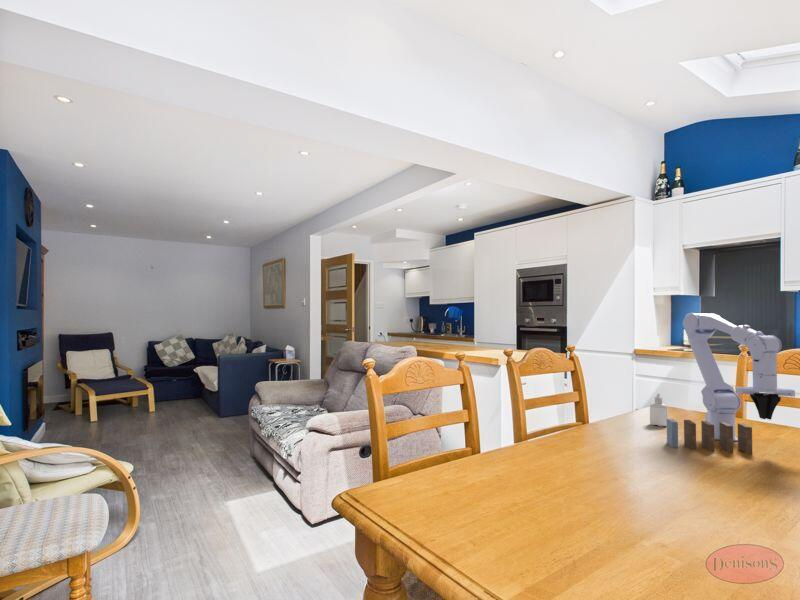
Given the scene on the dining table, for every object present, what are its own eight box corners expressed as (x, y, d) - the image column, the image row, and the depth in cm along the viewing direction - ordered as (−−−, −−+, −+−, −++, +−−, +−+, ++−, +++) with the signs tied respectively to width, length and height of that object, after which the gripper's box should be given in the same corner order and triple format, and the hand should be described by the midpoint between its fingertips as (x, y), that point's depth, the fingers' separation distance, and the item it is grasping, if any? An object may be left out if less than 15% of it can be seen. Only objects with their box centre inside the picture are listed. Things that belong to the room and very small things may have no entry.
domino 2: (690, 449, 135) (690, 423, 135) (684, 444, 140) (683, 419, 140) (696, 449, 134) (695, 423, 135) (689, 444, 139) (689, 419, 139)
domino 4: (727, 451, 132) (726, 425, 132) (719, 447, 137) (719, 421, 137) (733, 452, 132) (732, 426, 132) (725, 447, 137) (725, 422, 137)
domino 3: (708, 450, 133) (708, 424, 134) (701, 445, 138) (701, 420, 138) (714, 450, 133) (714, 424, 133) (707, 446, 138) (707, 421, 138)
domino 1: (672, 447, 136) (672, 422, 136) (666, 443, 141) (666, 418, 141) (678, 448, 136) (677, 422, 136) (672, 443, 140) (672, 418, 141)
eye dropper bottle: (663, 427, 160) (663, 395, 160) (648, 424, 164) (647, 393, 165) (669, 426, 162) (668, 394, 163) (653, 422, 167) (653, 392, 167)
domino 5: (746, 453, 131) (745, 427, 131) (737, 448, 136) (737, 423, 136) (752, 453, 130) (752, 427, 131) (743, 448, 135) (743, 423, 136)
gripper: (743, 375, 130) (744, 419, 130) (801, 377, 127) (802, 423, 126) (732, 372, 137) (733, 414, 137) (786, 374, 134) (787, 417, 133)
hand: (765, 418), depth 132 cm, fingers closed
